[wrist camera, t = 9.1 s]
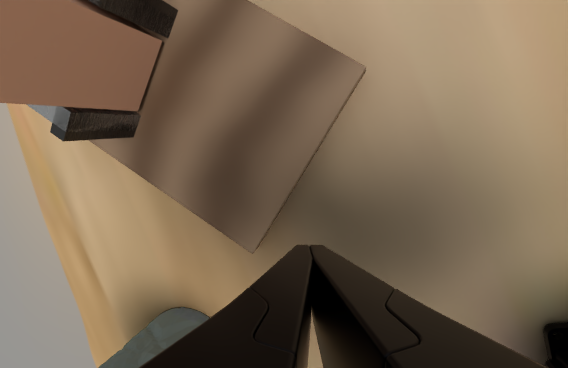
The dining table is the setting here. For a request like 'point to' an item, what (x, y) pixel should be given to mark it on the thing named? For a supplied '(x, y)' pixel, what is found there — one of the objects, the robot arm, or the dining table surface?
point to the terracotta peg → (72, 55)
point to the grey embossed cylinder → (156, 337)
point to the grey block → (104, 122)
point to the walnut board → (234, 113)
